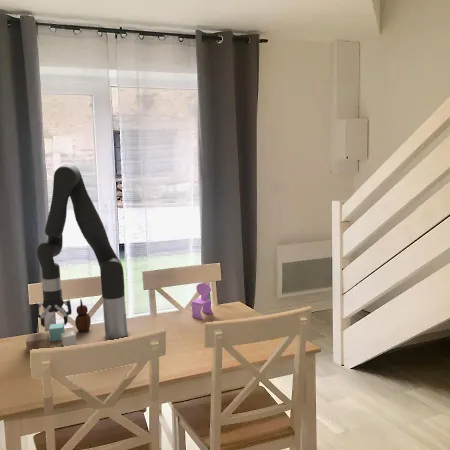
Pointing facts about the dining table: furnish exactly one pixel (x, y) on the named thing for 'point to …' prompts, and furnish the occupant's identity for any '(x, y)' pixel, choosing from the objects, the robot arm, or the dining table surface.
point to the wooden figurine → (82, 318)
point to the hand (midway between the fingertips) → (54, 325)
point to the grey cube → (68, 338)
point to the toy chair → (201, 301)
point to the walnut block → (37, 341)
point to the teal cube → (56, 331)
